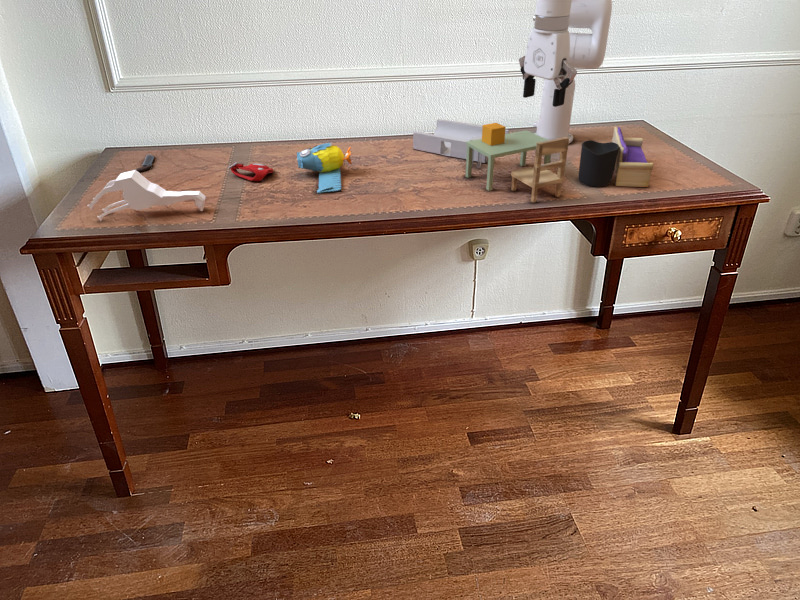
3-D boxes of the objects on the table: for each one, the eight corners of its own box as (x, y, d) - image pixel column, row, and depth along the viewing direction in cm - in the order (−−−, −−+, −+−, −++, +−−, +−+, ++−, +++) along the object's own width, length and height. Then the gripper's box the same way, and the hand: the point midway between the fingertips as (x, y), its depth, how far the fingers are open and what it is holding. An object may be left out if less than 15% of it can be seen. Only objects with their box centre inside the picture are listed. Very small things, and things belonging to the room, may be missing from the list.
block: (481, 141, 163) (482, 124, 161) (495, 138, 165) (496, 122, 162) (490, 145, 160) (491, 129, 157) (504, 143, 161) (505, 126, 159)
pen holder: (593, 190, 159) (599, 153, 153) (569, 178, 166) (574, 143, 160) (619, 183, 162) (627, 147, 157) (595, 172, 169) (601, 137, 164)
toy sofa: (649, 188, 159) (657, 151, 153) (614, 186, 161) (621, 149, 155) (638, 160, 176) (645, 125, 171) (607, 159, 178) (613, 124, 172)
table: (464, 176, 168) (466, 141, 163) (523, 163, 176) (526, 129, 170) (488, 191, 159) (490, 155, 154) (549, 177, 167) (553, 142, 161)
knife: (149, 171, 176) (149, 168, 175) (135, 172, 175) (135, 170, 175) (156, 154, 187) (156, 152, 187) (143, 155, 187) (142, 153, 186)
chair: (509, 189, 160) (514, 132, 151) (537, 183, 163) (543, 126, 155) (532, 203, 152) (539, 144, 144) (561, 196, 156) (569, 138, 147)
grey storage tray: (508, 147, 188) (510, 121, 183) (478, 169, 173) (479, 141, 168) (438, 134, 199) (438, 109, 195) (404, 154, 184) (404, 127, 180)
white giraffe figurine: (124, 251, 153) (210, 210, 150) (80, 197, 144) (170, 153, 141) (129, 242, 157) (212, 202, 154) (86, 189, 149) (174, 146, 146)
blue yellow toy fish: (351, 159, 156) (292, 163, 155) (354, 190, 161) (297, 195, 160) (349, 126, 180) (298, 130, 179) (351, 154, 184) (302, 158, 184)
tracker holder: (271, 163, 176) (276, 167, 167) (270, 179, 177) (275, 183, 168) (228, 159, 172) (231, 162, 163) (227, 175, 173) (230, 179, 164)
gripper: (512, 20, 139) (506, 96, 149) (569, 31, 127) (558, 112, 137) (535, 16, 143) (528, 90, 152) (593, 26, 131) (581, 106, 140)
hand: (542, 101), depth 144 cm, fingers open, 9 cm apart
